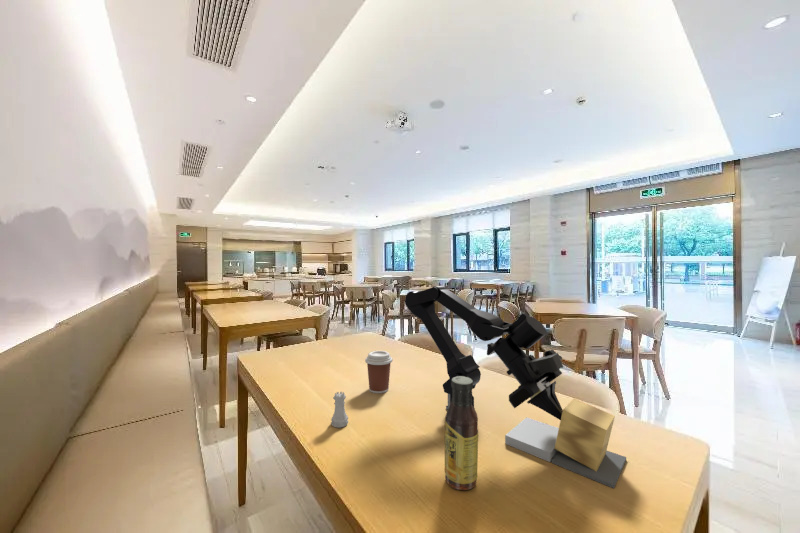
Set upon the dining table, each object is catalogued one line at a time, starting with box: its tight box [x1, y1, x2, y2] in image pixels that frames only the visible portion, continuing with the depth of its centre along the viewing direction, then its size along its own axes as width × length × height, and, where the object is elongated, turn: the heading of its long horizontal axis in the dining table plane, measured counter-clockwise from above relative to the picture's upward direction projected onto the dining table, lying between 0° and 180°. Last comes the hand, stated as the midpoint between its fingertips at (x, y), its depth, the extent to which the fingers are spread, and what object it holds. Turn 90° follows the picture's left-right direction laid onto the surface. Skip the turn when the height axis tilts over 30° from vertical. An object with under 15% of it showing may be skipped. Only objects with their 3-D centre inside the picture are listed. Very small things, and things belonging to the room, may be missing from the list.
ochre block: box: [555, 398, 615, 472], centre depth 68 cm, size 8×8×9 cm
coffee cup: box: [364, 350, 394, 394], centre depth 107 cm, size 9×9×12 cm
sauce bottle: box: [444, 376, 479, 491], centre depth 61 cm, size 6×6×20 cm
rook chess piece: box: [330, 391, 349, 429], centre depth 84 cm, size 4×4×8 cm
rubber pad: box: [551, 450, 627, 489], centre depth 67 cm, size 11×12×1 cm
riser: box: [504, 417, 559, 463], centre depth 75 cm, size 10×12×2 cm
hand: (564, 419), depth 71 cm, fingers closed, pressing on ochre block
